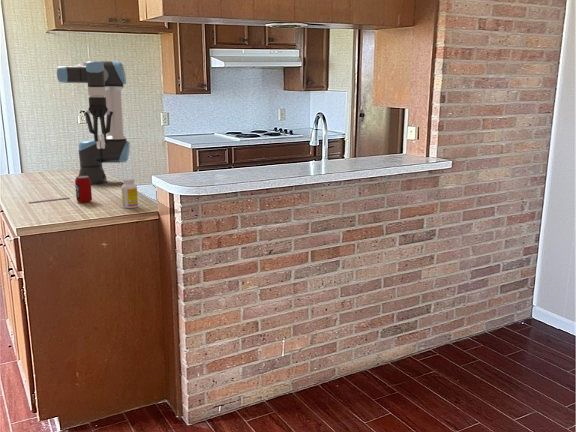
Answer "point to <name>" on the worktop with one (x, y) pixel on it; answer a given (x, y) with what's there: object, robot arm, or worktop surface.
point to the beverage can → (83, 189)
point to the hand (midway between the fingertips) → (100, 148)
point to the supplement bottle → (129, 193)
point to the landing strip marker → (49, 200)
